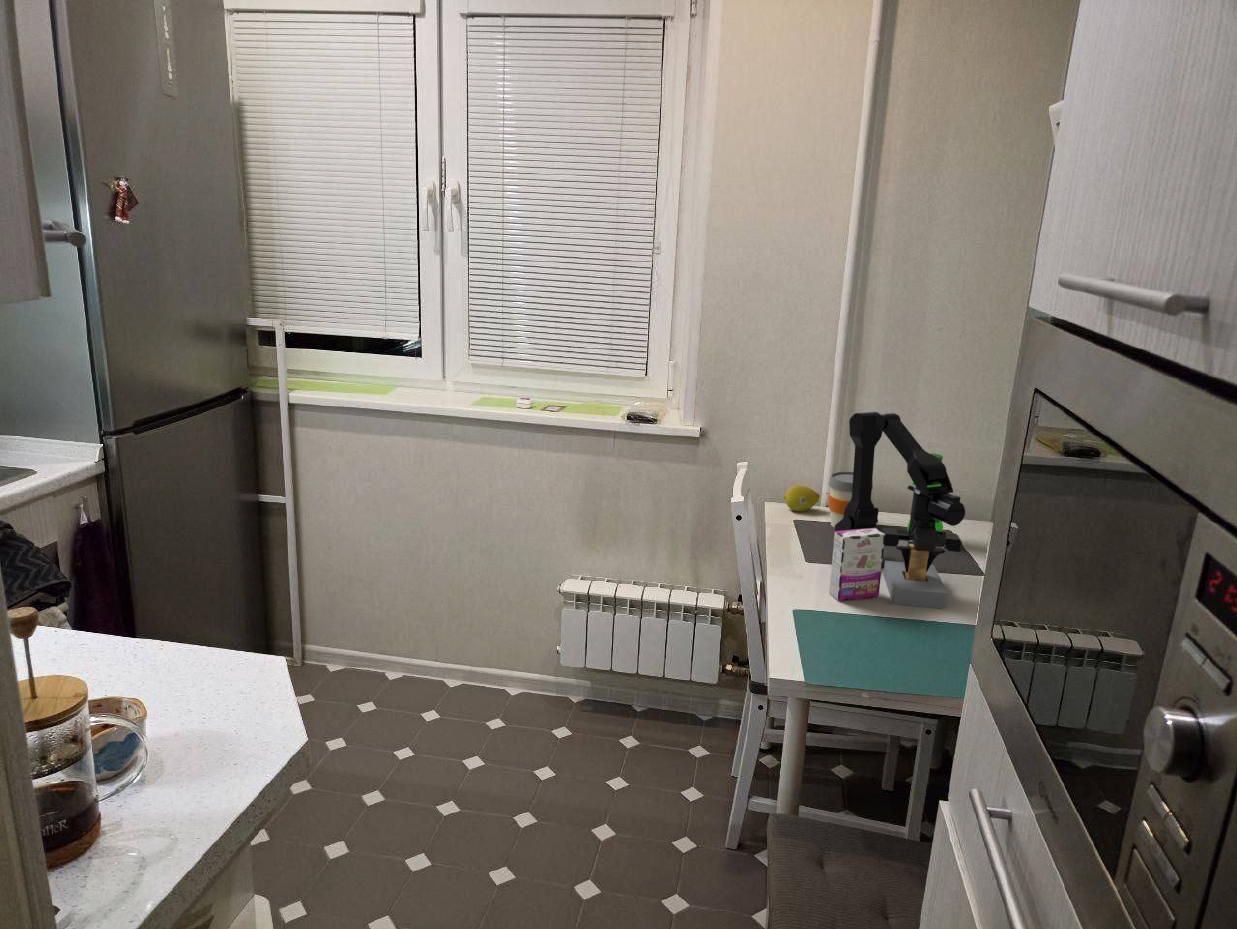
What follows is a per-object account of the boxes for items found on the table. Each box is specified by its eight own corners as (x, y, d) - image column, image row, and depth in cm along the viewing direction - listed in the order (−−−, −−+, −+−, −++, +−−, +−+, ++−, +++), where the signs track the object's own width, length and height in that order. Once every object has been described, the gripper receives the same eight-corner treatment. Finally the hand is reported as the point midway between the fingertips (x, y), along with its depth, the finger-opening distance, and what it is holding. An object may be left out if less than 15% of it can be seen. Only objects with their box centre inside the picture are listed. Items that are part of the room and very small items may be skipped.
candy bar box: (868, 589, 222) (875, 527, 218) (879, 598, 218) (886, 534, 213) (827, 593, 219) (834, 529, 215) (837, 601, 215) (844, 537, 210)
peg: (906, 588, 220) (911, 549, 217) (904, 581, 224) (909, 544, 221) (923, 589, 220) (928, 551, 217) (920, 583, 223) (926, 545, 221)
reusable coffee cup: (816, 520, 271) (821, 472, 267) (853, 517, 275) (858, 470, 271) (838, 534, 260) (843, 484, 256) (876, 531, 264) (882, 482, 260)
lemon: (781, 512, 278) (783, 487, 275) (784, 504, 285) (786, 480, 283) (816, 516, 275) (819, 491, 273) (818, 509, 282) (821, 484, 280)
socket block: (893, 604, 214) (895, 588, 213) (883, 575, 232) (885, 560, 230) (945, 608, 213) (947, 593, 212) (931, 579, 230) (933, 564, 229)
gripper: (888, 519, 210) (880, 581, 214) (971, 526, 208) (962, 589, 212) (882, 505, 221) (874, 564, 225) (961, 511, 218) (952, 571, 223)
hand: (915, 572), depth 221 cm, fingers closed on peg, 4 cm apart
